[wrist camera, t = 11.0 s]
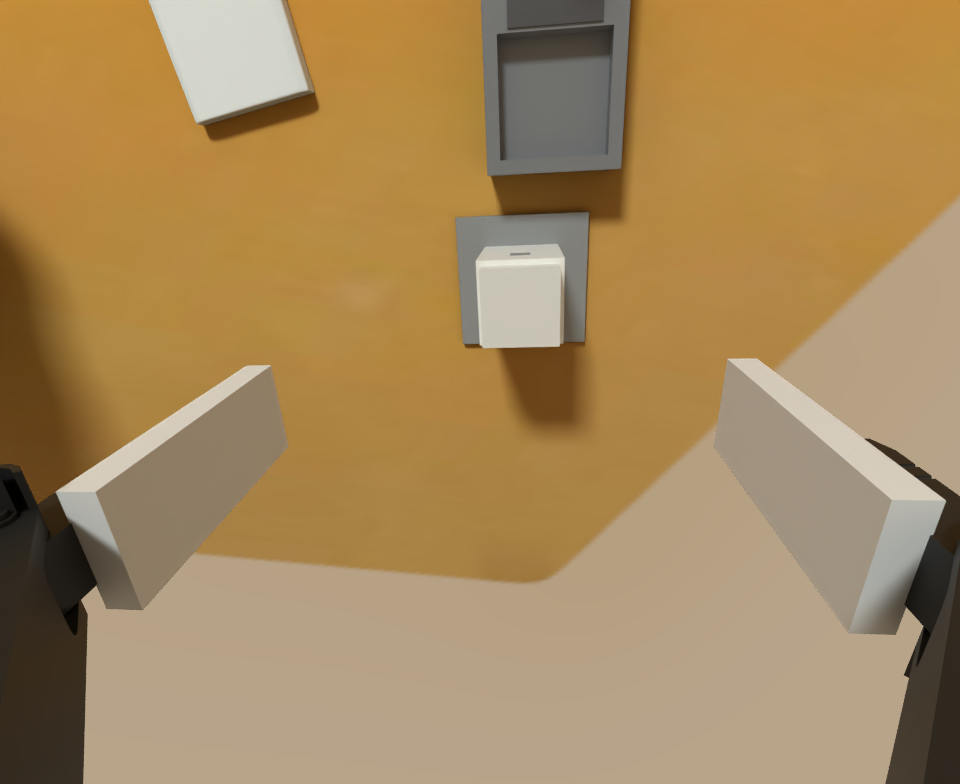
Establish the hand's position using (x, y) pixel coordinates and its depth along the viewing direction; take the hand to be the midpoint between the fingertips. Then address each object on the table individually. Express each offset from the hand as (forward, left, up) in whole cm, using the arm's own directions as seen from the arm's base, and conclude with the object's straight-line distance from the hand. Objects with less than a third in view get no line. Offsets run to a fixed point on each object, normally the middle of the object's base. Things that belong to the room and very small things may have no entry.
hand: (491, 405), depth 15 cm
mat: (+1, 0, -23) cm, 23 cm away
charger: (+1, 0, -23) cm, 23 cm away
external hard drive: (-18, +17, -24) cm, 34 cm away
